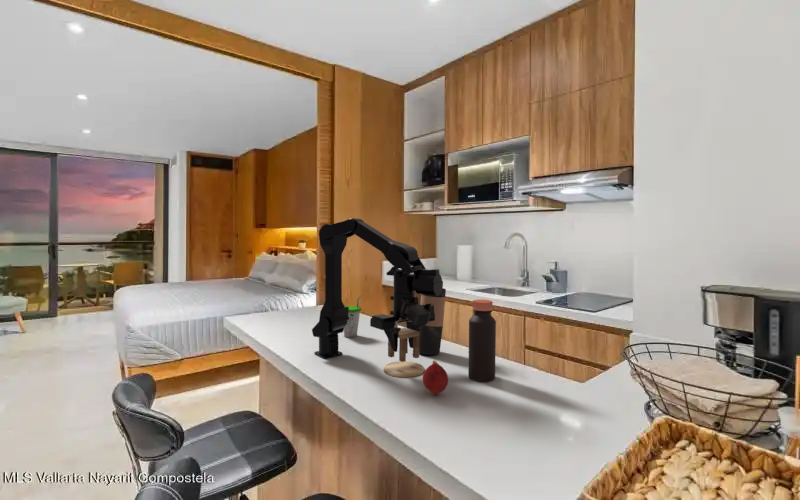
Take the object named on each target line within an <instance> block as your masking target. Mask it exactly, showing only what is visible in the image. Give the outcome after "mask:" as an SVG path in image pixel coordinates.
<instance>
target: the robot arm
mask: <svg viewBox="0 0 800 500" xmlns="http://www.w3.org/2000/svg"><path fill="white" fill-rule="evenodd" d="M353 236H357V237H358V238H360V239H362V241H364V242H366V243H367V244H369V245H371V246H372V247H373V248H376V249H377V250H378V251H380V252H381V254H383V256H384V258H385V259H386V261H387V262H389V264H391V265H392V267H391V268H390V269H389V270H387V272H386V276H392V277H393V293H392V294H393V295H390V300H391V301H392V302H393V309H392V310H390V312H389V313H390V315H387V314H375V315H372V317H370V321H369V323H370V324H369V326H370V327H372V328H375V329H378V330H381V331H383V332H384V333H385V335H386V337H387V341H388V340H389V342H390V344H391V346H392V349H393V351H394V353H397V352H398V347H399V343H398V342H399V338H398V333H399V331H400V330H401V328H402V327H398V324H399V323H403V322H404V323H405V322H406V328H408V329H411V330H415V331H418V332H419V331H420V329H421V328H422V327H423V326H424V325H426V324H427V323H428V322H429V321H434V320H435V313H434V305H432V304H431V303H429V304H425V305H420V301H419V298H418V296H416V295H415V293H416V294H417V295H421V294H423V295H434V296H439V295H440V294H441V292H442V288H443V287H444V280H443V278H442V275H441V273H440V269H438V268H437V269H436V268H434V269H428V268H426V266H425V265H424V263H423V262H422V260H421V259H420V257H419V253H418V251H417V249H416V248H415V247H414V246H412V245H409V244H407V243H404V242H402V241H401V242H400V241H396V240H394V239H392V238H390V237H388V236H387V235H386V234H384V233H382V232H381V231H379V230H378V229H376V228H375V227H372V226H371V225H370V224H368V223H366V222H365V221H364V220H363V219H362V218H357V217H356V218H355V217H351V218H349V219H346V220H343V221H340V222H336V223H332V224H331V223H326V224H323V225H322V226H321V227H320V228H319V231H318V238H319V244H320V245H319V246H320V247H321V249H322V251H323V253H324V267H325V268H324V292H325V293H324V303H323V305H322V307H321V310H320V311H319V319H318V320H319V321H318V322H317V323H316V324H315V325H314V327H312V329H311V331H312V336H313V337H314V338H318V350H317V351H314V355H316V356H318V357H320V358H323V359H328V358H332V357H333V358H334V357H337V356H342V355H343V352H342V351H340V350H339V334H340V333H344V327H345V326H346V325H347V321H348V320H349V316H348V312H349V307H345V306H346V305H345V304H344V303H343V300H342V297H343V294H342V292H343V291H342V289H343V287H342V285H343V283H342V282H343V281H342V280H343V279H342V278H343V275H342V274H343V273H342V272H343V271H342V270H343V269H342V265H343V263H342V262H343V261H342V260H343V259H342V258H343V257H342V256H343V253H344V250H345V248H346V246H347V242H348V238H350V237H353ZM408 347H409V348H411V349H413V337H410V338H408Z"/></svg>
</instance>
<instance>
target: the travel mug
mask: <svg viewBox="0 0 800 500" xmlns="http://www.w3.org/2000/svg"><path fill="white" fill-rule="evenodd" d="M446 292H447V289H446V288H442V292H441V294H440V295H439V296H434V295H423V294H420V295H421V296H420V302H419V304H420V305H425V304H429V303H431V304H432V305H434V313H435V320H434V321H429V322H428V323H427V324H426V325H424V326H423V327H422V328H421V329H420V331H419V354H423V355H429V356H434V355H440V353H441V346H442V345H441V343H442V336H443V328H444V317H445V305H446V304H445V303H446Z"/></svg>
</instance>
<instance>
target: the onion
mask: <svg viewBox="0 0 800 500" xmlns="http://www.w3.org/2000/svg"><path fill="white" fill-rule="evenodd" d="M422 382H423V385H424V387H425V389H426V390H428V391H429V393H431V394H432V395H433V396H436V395H439V394H440V393H441V392H444V390H445V389H446V388H447V386H448V384H449V375H448V373H447V371H446V369H445V368H444V367H443V366H442V365H440V364H439V363H438V362H437V361H436V360H435V359H434V360H432V364H430V365H429V366H427V368H426V369H424V372H423V373H422Z"/></svg>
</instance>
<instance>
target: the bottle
mask: <svg viewBox="0 0 800 500" xmlns="http://www.w3.org/2000/svg"><path fill="white" fill-rule="evenodd" d="M472 312H473V315H472V316H471V317H470V319H469V321H468V368H467V370H468V377H469V379H471V380H472V381H474V382H479V383H488V382H493V381H494V380H495V378H496V345H497V343H496V340H497V339H496V336H497V335H496V334H497V333H496V331H497V320H496V319H495V318H494V316H493V315H492V312H493V301H492V300H489V299H474V300H473V301H472Z"/></svg>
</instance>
